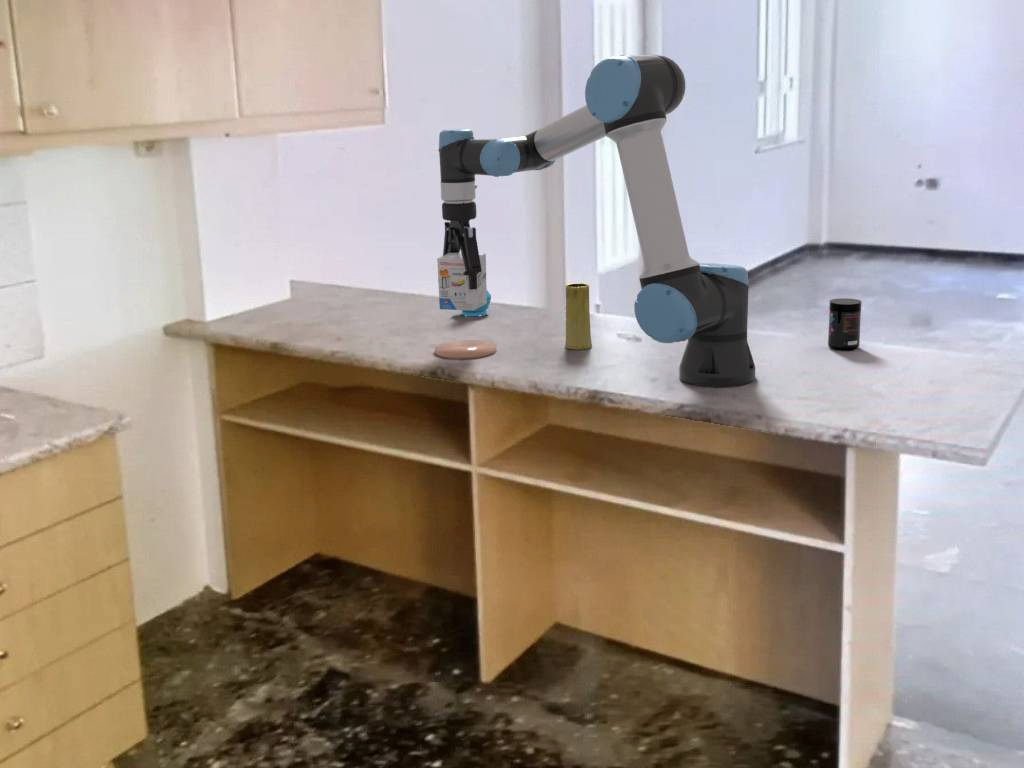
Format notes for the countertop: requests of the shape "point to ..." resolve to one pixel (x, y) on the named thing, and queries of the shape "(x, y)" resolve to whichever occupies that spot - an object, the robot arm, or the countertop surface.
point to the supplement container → (844, 324)
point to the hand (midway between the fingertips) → (463, 298)
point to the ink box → (458, 282)
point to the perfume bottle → (479, 310)
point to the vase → (577, 317)
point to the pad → (465, 349)
